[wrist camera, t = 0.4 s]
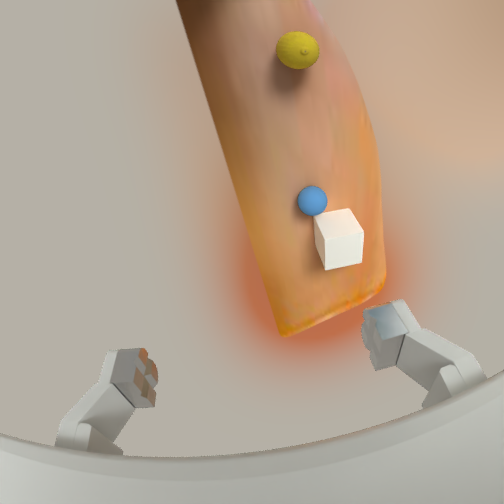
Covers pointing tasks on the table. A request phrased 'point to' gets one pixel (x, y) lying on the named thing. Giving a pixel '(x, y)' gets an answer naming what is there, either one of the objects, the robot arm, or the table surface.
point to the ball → (312, 201)
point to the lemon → (297, 50)
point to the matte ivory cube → (338, 238)
